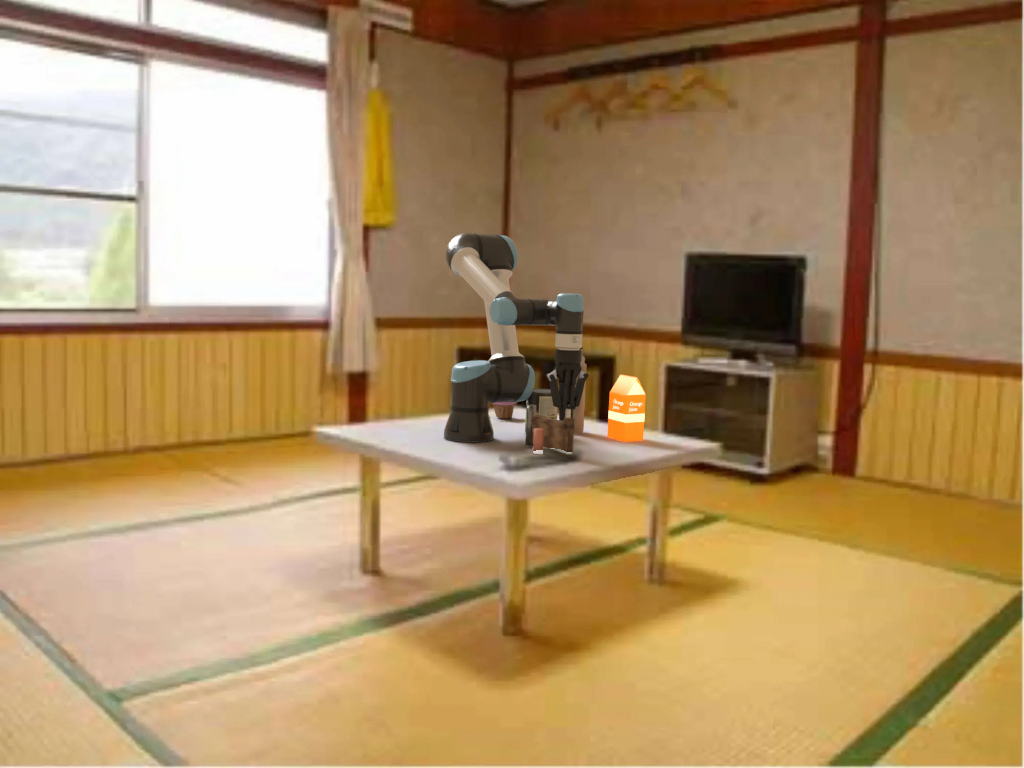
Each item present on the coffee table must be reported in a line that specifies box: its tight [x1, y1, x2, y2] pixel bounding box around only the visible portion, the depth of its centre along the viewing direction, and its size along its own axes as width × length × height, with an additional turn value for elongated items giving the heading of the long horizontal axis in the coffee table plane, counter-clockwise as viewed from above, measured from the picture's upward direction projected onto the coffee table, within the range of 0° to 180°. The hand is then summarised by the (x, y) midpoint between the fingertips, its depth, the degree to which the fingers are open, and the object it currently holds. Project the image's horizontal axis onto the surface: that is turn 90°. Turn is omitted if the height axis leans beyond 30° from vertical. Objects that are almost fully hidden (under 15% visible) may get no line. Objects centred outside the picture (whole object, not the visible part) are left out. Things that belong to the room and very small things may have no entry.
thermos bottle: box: [560, 346, 587, 435], centre depth 303 cm, size 8×8×28 cm
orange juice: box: [607, 373, 647, 443], centre depth 296 cm, size 8×9×20 cm
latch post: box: [532, 428, 545, 452], centre depth 266 cm, size 3×3×7 cm
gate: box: [532, 415, 575, 453], centre depth 269 cm, size 18×2×10 cm, turn 32°
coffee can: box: [524, 388, 559, 435], centre depth 297 cm, size 10×10×14 cm
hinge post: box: [524, 405, 536, 447], centre depth 278 cm, size 3×3×12 cm
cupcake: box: [492, 402, 518, 420], centre depth 328 cm, size 9×9×10 cm
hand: (565, 431), depth 266 cm, fingers closed
